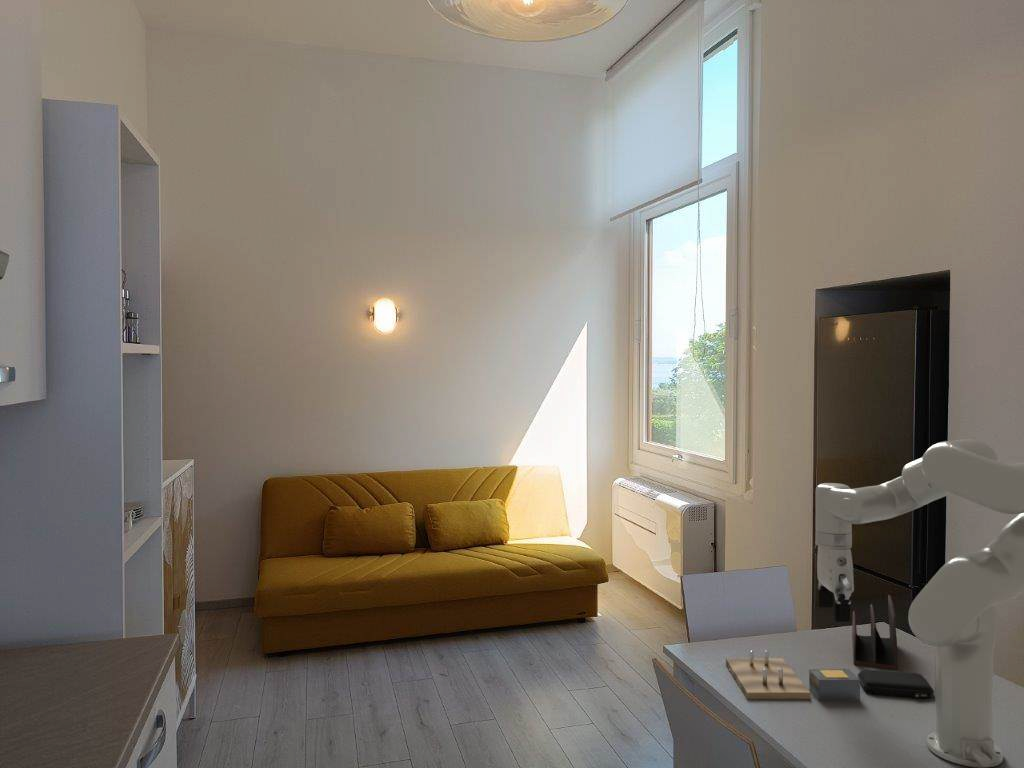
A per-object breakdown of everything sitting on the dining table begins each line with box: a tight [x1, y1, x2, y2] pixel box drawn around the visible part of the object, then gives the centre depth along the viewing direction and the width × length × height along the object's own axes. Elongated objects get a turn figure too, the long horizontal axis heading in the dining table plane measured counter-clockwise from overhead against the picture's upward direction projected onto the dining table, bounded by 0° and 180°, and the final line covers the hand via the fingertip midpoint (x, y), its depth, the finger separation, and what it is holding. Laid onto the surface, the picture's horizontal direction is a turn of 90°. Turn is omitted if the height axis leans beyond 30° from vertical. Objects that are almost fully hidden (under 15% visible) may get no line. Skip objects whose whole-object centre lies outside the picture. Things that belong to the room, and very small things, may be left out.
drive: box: [808, 668, 861, 702], centre depth 170 cm, size 9×6×5 cm, turn 88°
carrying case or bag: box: [857, 669, 935, 699], centre depth 173 cm, size 11×3×15 cm
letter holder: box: [851, 594, 899, 671], centre depth 194 cm, size 10×20×14 cm, turn 157°
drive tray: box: [725, 650, 812, 700], centre depth 179 cm, size 20×14×5 cm
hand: (833, 614), depth 170 cm, fingers open, 9 cm apart
